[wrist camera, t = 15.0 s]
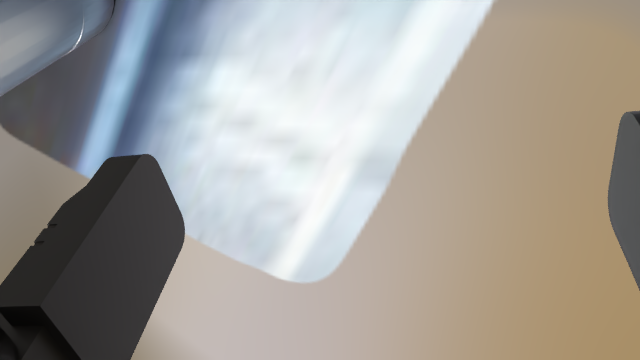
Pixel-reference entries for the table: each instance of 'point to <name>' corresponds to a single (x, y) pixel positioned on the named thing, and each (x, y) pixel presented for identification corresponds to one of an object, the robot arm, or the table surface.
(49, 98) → the table surface
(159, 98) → the table surface
